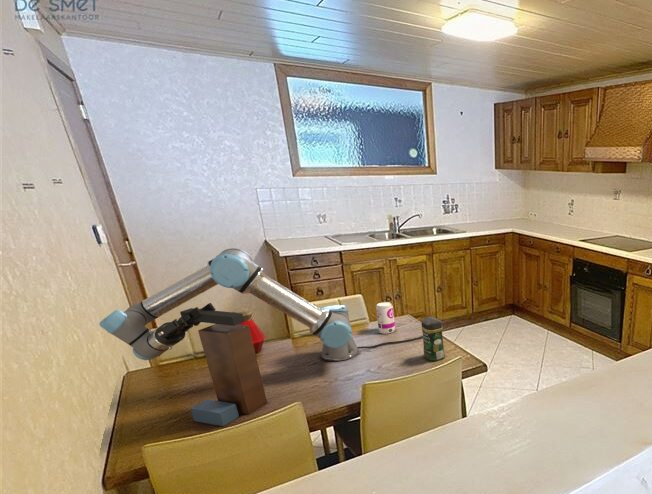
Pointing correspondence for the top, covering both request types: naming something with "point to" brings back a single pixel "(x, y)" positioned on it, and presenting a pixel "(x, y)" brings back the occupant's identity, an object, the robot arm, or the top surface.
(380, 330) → the supplement can
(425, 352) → the coffee jar
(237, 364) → the walnut post
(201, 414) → the base pad
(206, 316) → the back pad
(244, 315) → the bottle
